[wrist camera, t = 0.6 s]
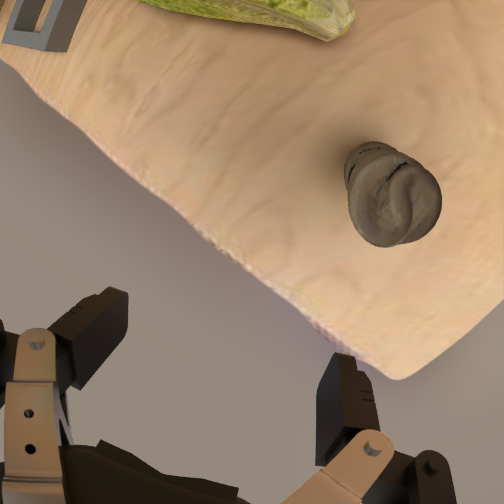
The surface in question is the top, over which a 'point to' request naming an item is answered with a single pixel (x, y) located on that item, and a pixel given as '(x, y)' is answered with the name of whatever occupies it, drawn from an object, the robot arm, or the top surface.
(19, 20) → the socket block
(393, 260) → the top surface
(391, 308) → the top surface
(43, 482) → the robot arm
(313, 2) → the lettuce
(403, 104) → the top surface
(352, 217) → the light bulb
